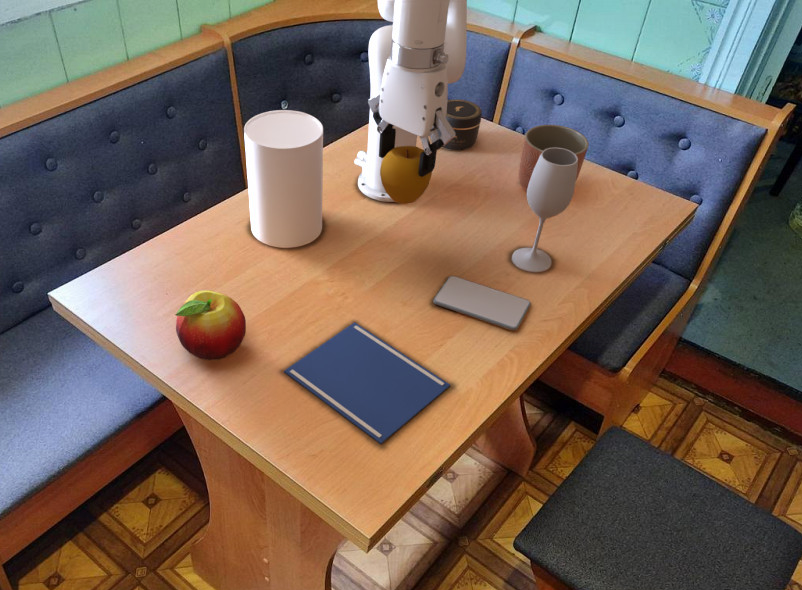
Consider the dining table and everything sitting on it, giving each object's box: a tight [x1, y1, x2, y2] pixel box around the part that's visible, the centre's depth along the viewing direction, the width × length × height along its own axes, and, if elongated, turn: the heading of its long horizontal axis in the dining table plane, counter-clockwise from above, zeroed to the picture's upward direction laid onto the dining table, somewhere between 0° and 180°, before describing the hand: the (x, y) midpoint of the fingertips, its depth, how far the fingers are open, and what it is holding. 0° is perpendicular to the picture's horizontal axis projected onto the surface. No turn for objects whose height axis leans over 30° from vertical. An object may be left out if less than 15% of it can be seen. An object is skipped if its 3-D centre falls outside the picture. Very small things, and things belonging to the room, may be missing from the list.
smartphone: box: [433, 275, 532, 331], centre depth 124 cm, size 8×1×15 cm
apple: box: [380, 146, 433, 205], centre depth 119 cm, size 9×8×9 cm
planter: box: [518, 124, 590, 192], centre depth 147 cm, size 12×12×11 cm
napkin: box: [283, 321, 451, 445], centre depth 111 cm, size 20×16×1 cm
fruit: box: [174, 289, 247, 361], centre depth 112 cm, size 11×11×10 cm
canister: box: [243, 109, 324, 249], centre depth 132 cm, size 14×14×20 cm
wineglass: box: [511, 148, 578, 273], centre depth 126 cm, size 8×8×21 cm
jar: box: [436, 98, 483, 152], centre depth 161 cm, size 10×10×8 cm
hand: (405, 163), depth 117 cm, fingers closed on apple, 7 cm apart
